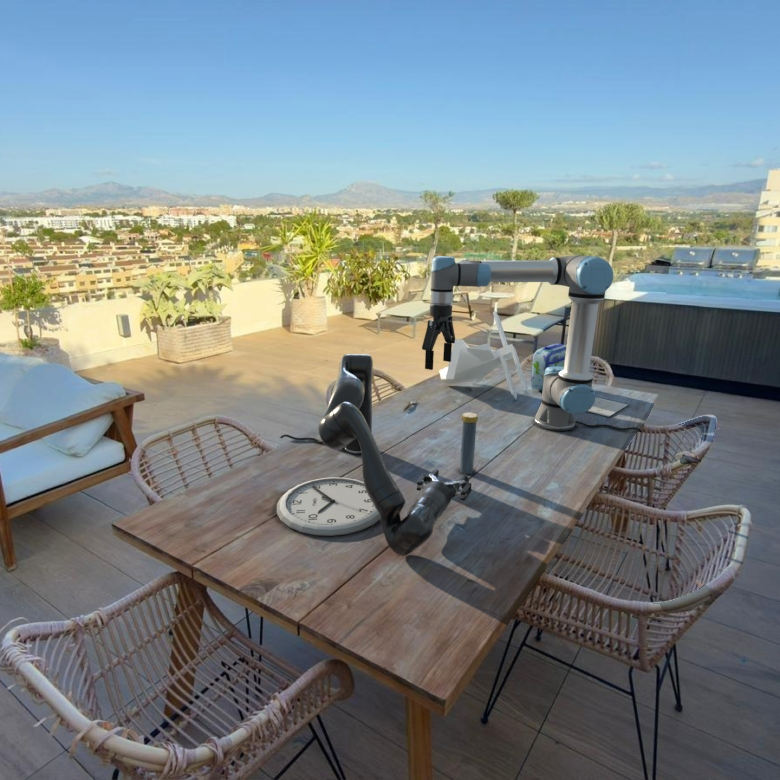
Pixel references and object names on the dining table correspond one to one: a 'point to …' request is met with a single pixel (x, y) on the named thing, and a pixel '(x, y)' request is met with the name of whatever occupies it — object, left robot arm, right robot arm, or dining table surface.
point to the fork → (411, 403)
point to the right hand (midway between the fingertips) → (438, 365)
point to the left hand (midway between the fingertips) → (451, 475)
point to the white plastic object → (482, 362)
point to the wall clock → (328, 507)
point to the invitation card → (606, 407)
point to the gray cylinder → (467, 447)
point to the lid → (470, 417)
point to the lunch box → (546, 362)
